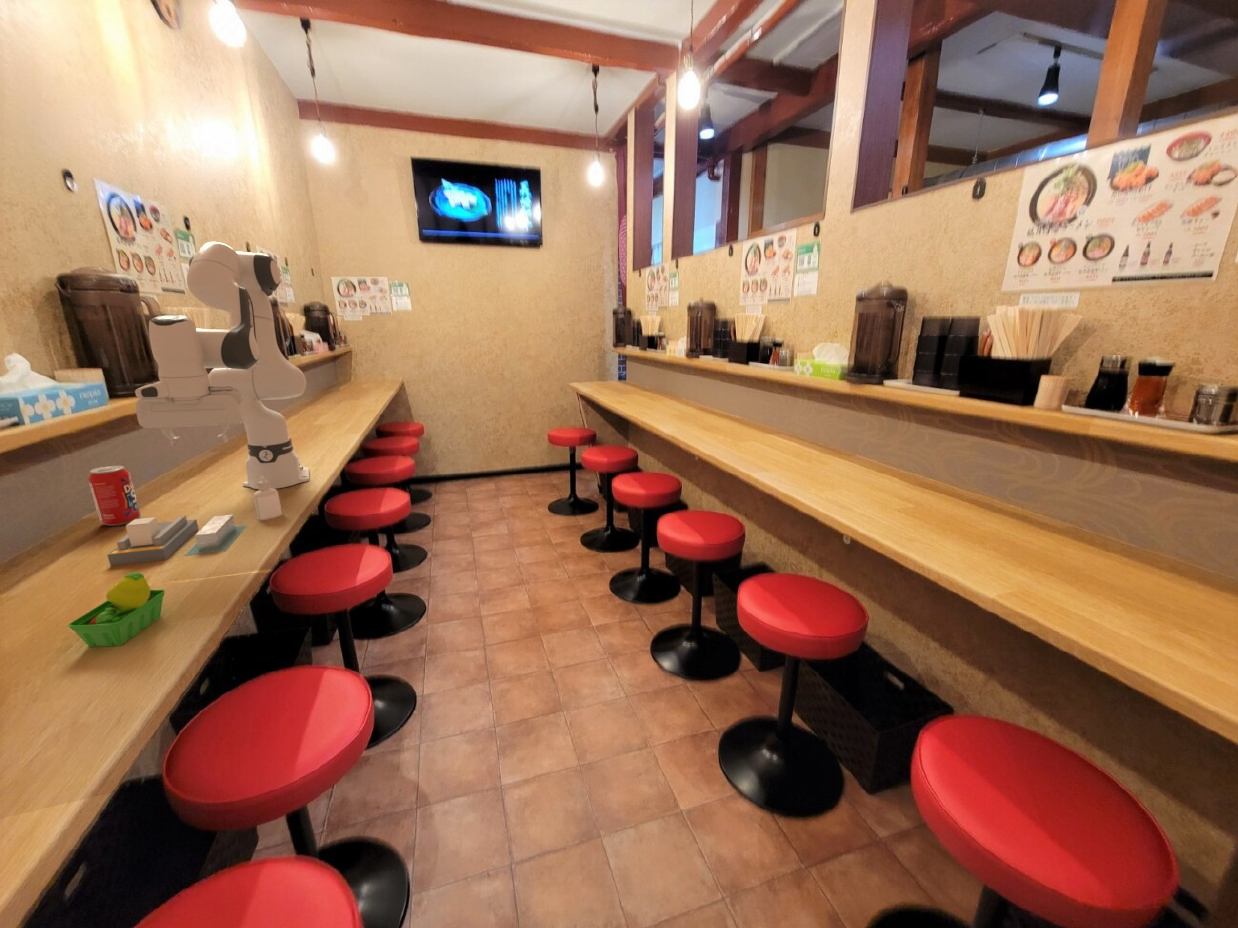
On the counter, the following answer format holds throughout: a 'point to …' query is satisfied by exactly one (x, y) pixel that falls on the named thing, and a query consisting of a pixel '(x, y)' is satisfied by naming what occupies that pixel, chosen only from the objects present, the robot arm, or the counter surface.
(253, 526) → the counter surface
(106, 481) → the soda can
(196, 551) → the mat
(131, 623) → the fruit basket
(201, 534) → the bar
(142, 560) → the switch panel
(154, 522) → the switch tab
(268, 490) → the eye dropper bottle
